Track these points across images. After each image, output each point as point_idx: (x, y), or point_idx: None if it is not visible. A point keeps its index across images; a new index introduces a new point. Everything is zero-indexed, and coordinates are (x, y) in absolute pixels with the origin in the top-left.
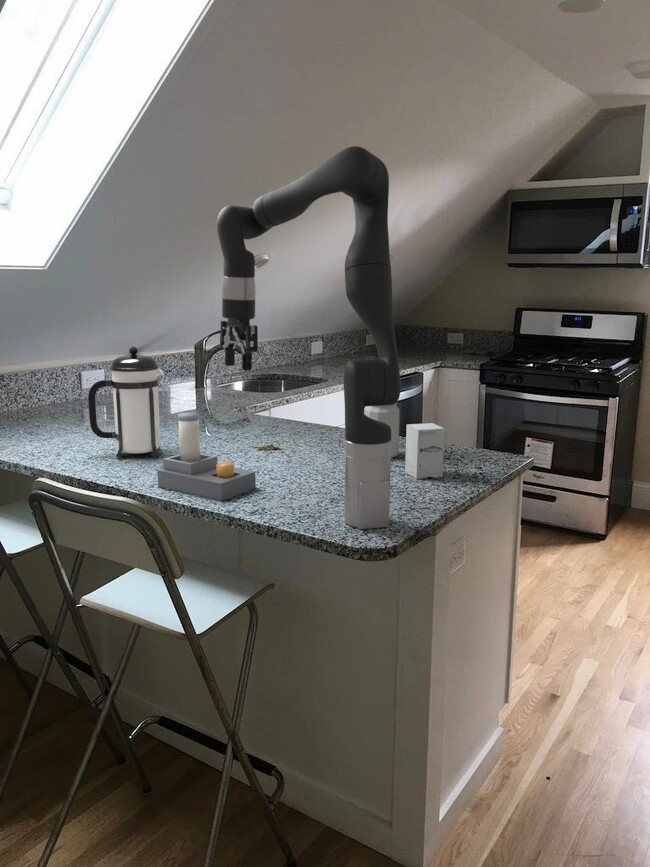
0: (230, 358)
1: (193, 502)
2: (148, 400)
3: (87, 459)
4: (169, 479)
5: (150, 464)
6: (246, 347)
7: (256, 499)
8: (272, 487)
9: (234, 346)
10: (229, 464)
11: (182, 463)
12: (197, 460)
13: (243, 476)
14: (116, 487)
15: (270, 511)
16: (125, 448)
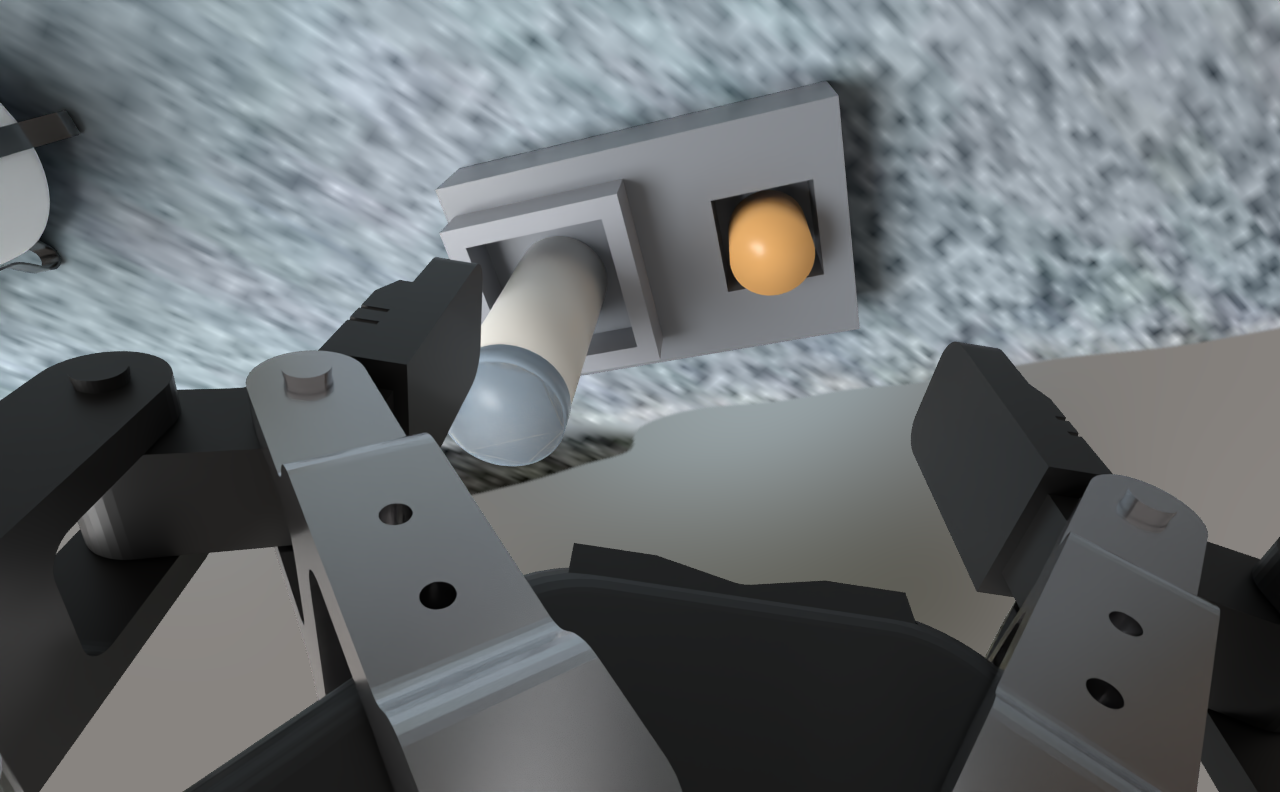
0: (455, 365)
1: (780, 370)
2: None
3: (18, 345)
4: None
5: (191, 207)
6: (1214, 739)
7: (949, 187)
8: (883, 4)
9: (378, 406)
10: (789, 243)
11: (613, 366)
12: (599, 288)
13: (845, 187)
14: (454, 444)
15: (1101, 245)
16: (19, 255)
